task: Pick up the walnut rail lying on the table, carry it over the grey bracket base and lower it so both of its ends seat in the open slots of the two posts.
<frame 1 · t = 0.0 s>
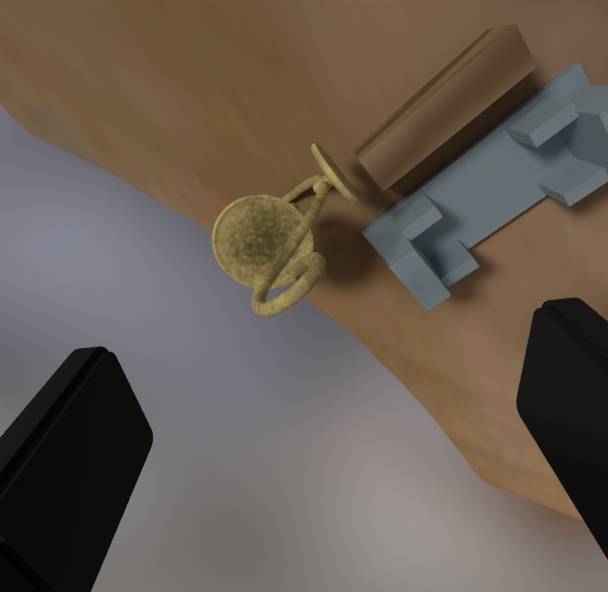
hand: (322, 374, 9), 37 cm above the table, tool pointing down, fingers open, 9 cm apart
wall sconce: (286, 197, 45), on the table
rail: (425, 110, 40), on the table
grey bracket base: (479, 190, 44), on the table
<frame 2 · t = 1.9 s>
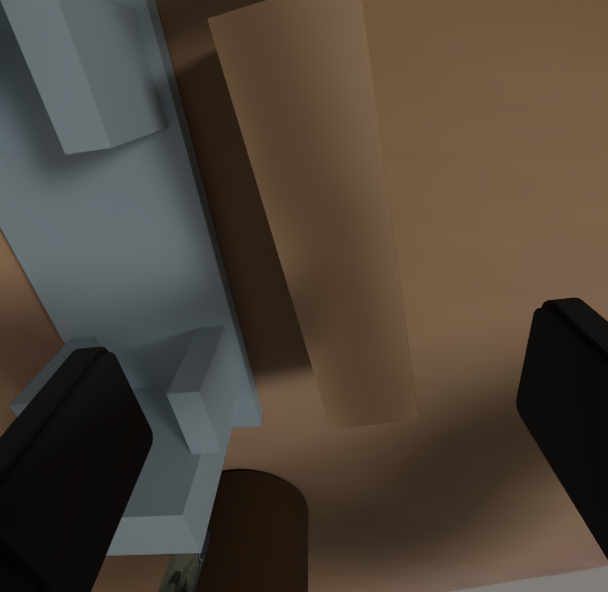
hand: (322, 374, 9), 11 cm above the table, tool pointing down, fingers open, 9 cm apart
olive oil: (249, 501, 31), on the table
rail: (335, 215, 19), on the table
grey bracket base: (121, 241, 20), on the table
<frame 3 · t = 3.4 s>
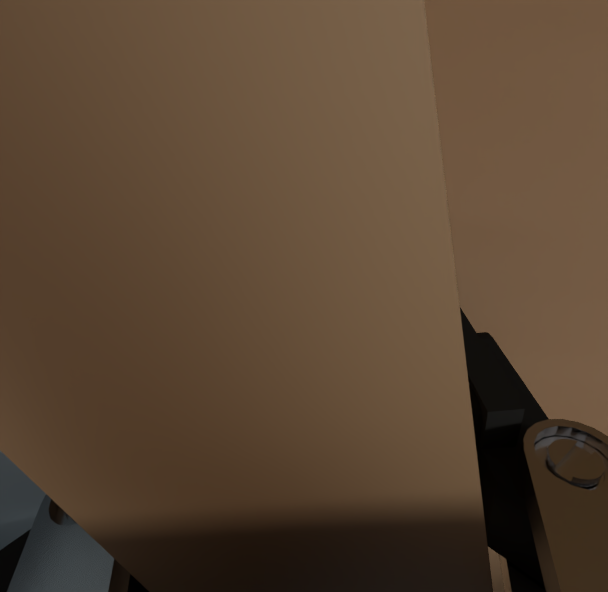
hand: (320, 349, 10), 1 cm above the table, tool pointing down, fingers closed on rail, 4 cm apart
rail: (320, 336, 10), on the table, touching gripper
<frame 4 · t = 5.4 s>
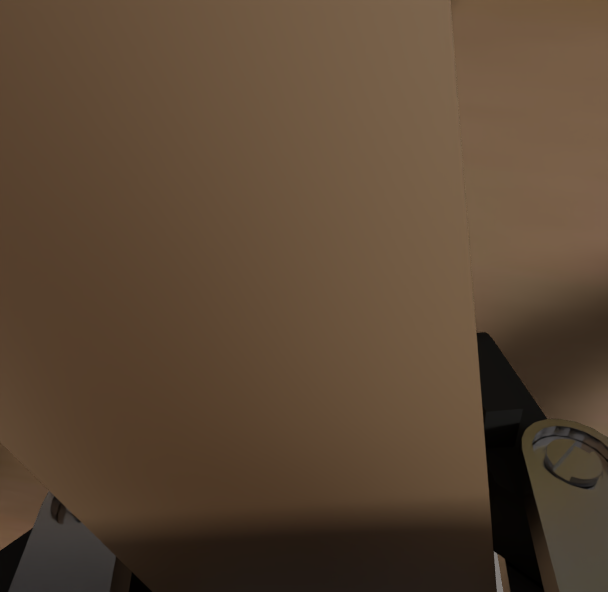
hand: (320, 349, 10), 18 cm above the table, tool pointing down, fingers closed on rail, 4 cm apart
rail: (321, 334, 10), point 17 cm above the table, touching gripper
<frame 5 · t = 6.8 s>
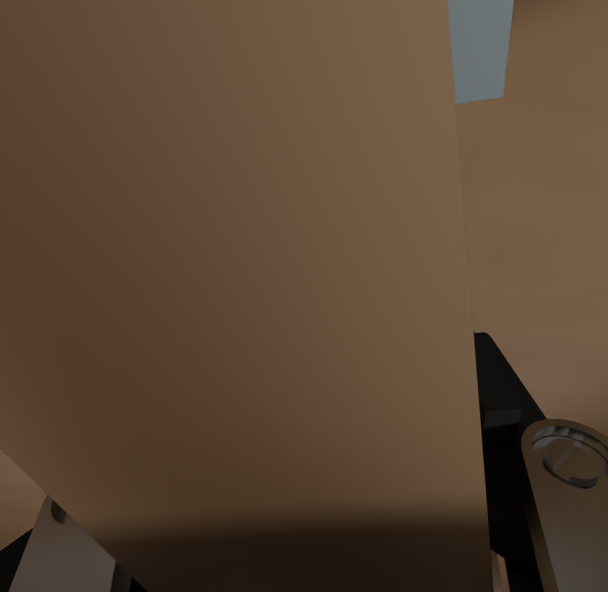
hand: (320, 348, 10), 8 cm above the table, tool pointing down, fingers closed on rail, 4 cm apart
rail: (319, 334, 10), point 7 cm above the table, touching gripper
grey bracket base: (316, 236, 16), on the table
when the fingers open (3 cm above the table, at t = 8.1 s): rail stays where it is, resting on grey bracket base.
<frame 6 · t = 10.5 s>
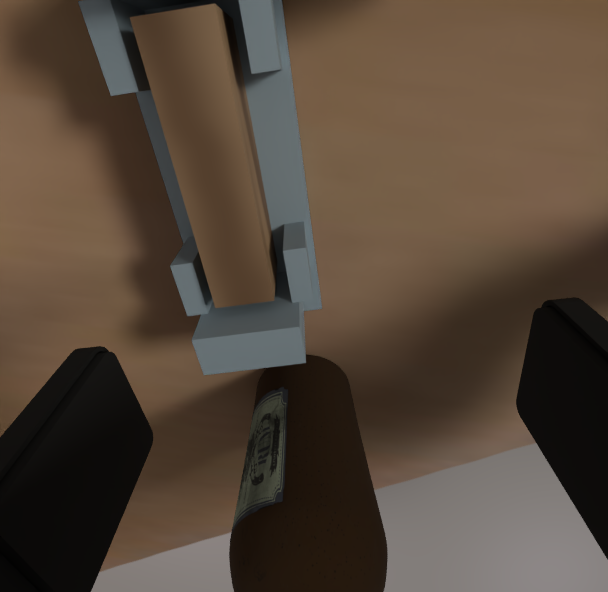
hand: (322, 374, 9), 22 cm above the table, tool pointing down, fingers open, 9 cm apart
olive oil: (302, 387, 39), on the table
rail: (230, 162, 27), point 1 cm above the table, touching grey bracket base
grey bracket base: (232, 159, 28), on the table
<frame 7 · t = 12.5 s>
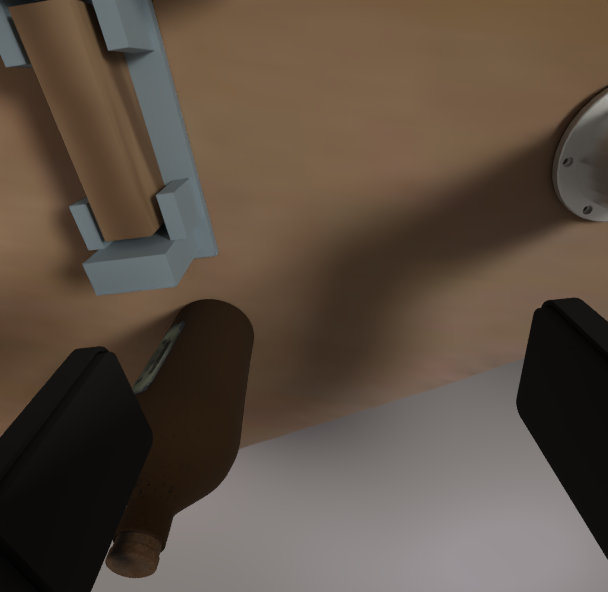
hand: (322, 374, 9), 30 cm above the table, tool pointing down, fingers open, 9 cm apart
olive oil: (214, 330, 46), on the table
rail: (123, 127, 33), point 1 cm above the table, touching grey bracket base
grey bracket base: (128, 124, 34), on the table
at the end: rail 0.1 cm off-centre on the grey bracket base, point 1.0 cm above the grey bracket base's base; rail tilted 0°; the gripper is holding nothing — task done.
